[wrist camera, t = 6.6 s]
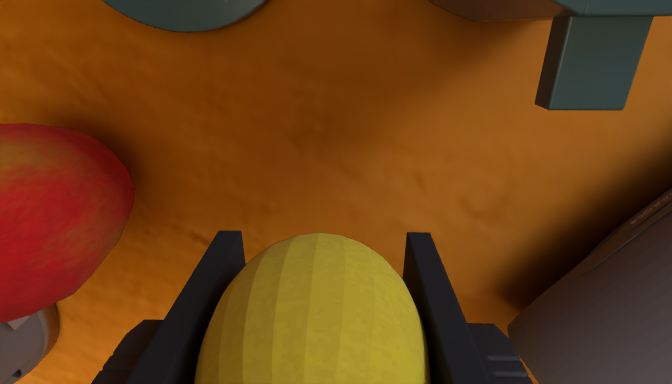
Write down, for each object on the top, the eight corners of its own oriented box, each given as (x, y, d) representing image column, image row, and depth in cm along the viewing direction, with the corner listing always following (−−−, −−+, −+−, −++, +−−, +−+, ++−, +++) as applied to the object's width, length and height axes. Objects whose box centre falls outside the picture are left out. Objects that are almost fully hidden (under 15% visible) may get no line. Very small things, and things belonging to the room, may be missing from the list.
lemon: (218, 220, 12) (34, 502, 5) (373, 166, 11) (423, 415, 4) (286, 335, 14) (225, 651, 7) (422, 297, 13) (512, 616, 6)
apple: (179, 134, 23) (20, 235, 12) (155, 247, 26) (16, 406, 15) (24, 76, 21) (-313, 129, 11) (22, 203, 25) (-232, 340, 14)
